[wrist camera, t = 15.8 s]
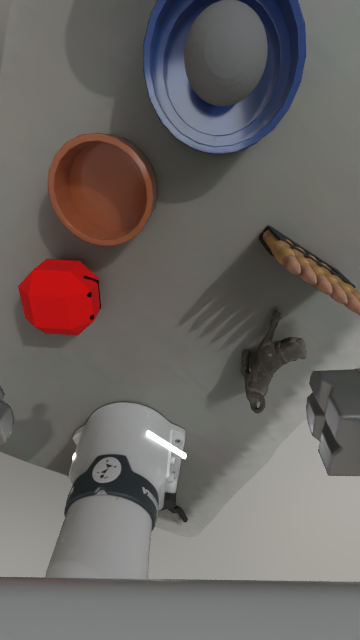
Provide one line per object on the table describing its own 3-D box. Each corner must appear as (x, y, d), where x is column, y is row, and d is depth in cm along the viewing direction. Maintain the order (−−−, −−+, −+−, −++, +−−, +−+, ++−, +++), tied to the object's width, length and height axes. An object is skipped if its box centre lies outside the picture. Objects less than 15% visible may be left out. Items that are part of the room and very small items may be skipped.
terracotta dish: (162, 231, 37) (158, 242, 33) (76, 237, 38) (63, 249, 34) (151, 130, 32) (145, 128, 29) (53, 139, 33) (34, 139, 29)
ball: (106, 314, 43) (90, 345, 36) (47, 311, 43) (20, 341, 37) (101, 256, 39) (82, 279, 32) (36, 252, 39) (4, 275, 33)
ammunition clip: (257, 238, 37) (282, 276, 27) (267, 224, 37) (297, 258, 26) (328, 283, 40) (376, 334, 29) (339, 271, 39) (392, 319, 28)
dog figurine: (264, 385, 48) (275, 423, 41) (229, 372, 47) (234, 409, 40) (310, 320, 42) (331, 352, 36) (271, 304, 41) (285, 335, 35)
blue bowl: (284, 146, 33) (298, 146, 28) (158, 157, 34) (152, 159, 29) (296, -31, 27) (316, -65, 22) (141, -11, 28) (131, -39, 23)
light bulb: (264, 52, 29) (294, 13, 20) (232, 124, 32) (247, 118, 23) (203, 17, 28) (207, -39, 19) (176, 95, 31) (168, 77, 22)
